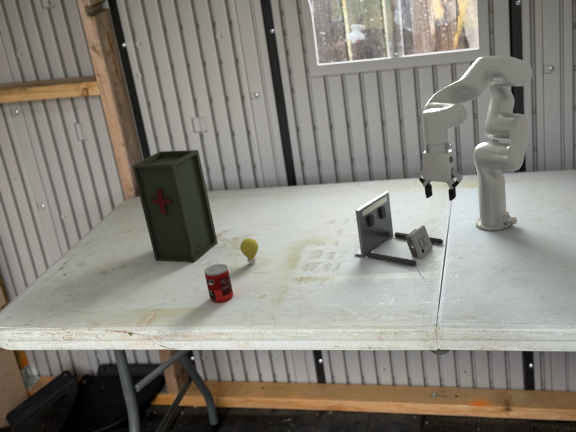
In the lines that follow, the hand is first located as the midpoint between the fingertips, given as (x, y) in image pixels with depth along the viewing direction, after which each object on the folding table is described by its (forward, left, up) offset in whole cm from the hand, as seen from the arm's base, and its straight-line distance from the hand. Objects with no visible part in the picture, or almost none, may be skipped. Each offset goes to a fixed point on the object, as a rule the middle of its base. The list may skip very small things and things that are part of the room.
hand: (440, 197), depth 219 cm
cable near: (+16, +9, -22) cm, 29 cm away
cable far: (+16, -10, -22) cm, 29 cm away
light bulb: (+64, +30, -22) cm, 74 cm away
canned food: (+55, +55, -22) cm, 81 cm away
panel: (+27, 0, -22) cm, 35 cm away
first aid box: (+99, +32, -22) cm, 106 cm away
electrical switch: (+10, 0, -22) cm, 24 cm away
